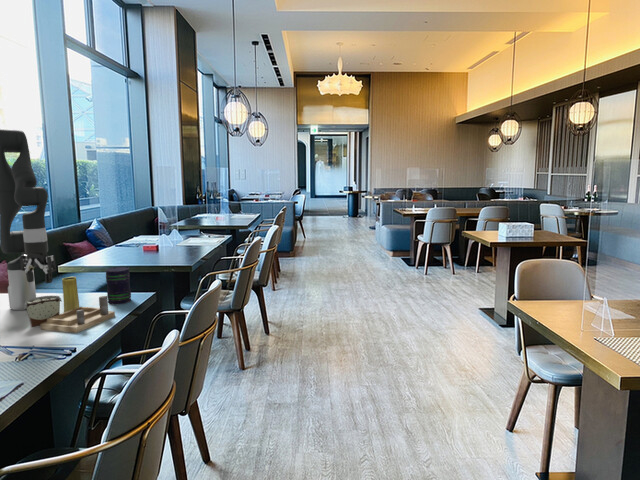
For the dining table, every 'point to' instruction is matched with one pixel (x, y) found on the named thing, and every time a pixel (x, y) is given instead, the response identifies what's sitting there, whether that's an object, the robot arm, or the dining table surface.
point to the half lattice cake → (42, 309)
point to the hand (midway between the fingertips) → (39, 282)
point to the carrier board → (77, 327)
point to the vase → (70, 293)
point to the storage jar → (118, 285)
